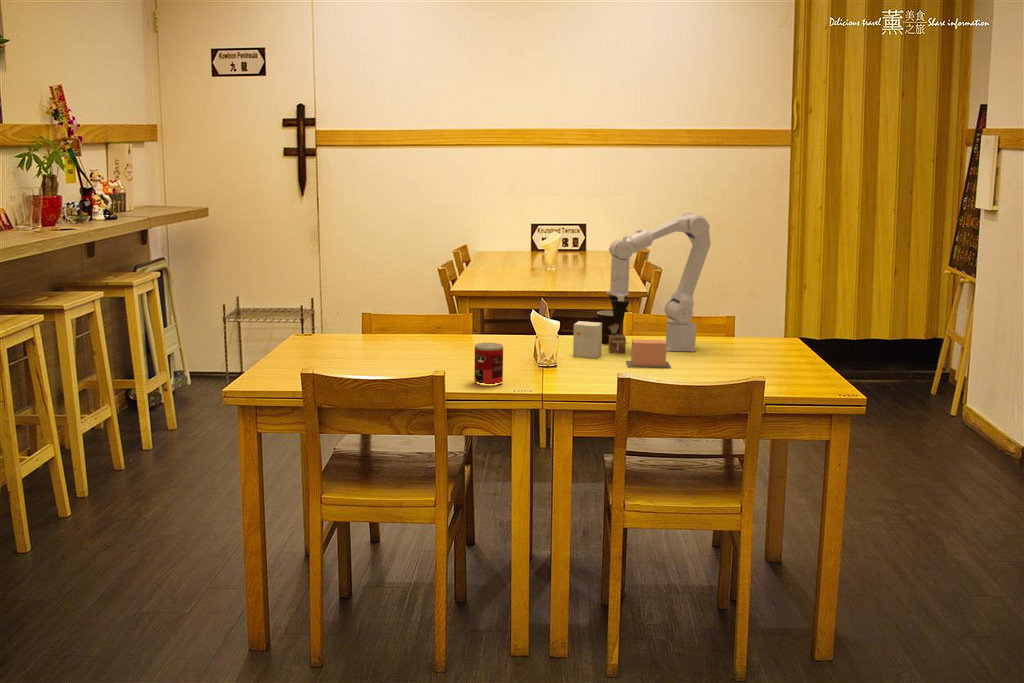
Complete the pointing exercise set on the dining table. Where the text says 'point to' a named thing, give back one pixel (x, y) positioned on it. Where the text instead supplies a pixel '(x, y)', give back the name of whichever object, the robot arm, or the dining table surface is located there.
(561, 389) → the dining table surface
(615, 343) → the letter cube
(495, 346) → the canned food
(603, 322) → the coffee mug
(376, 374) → the dining table surface
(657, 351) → the pink rectangular block
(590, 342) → the small box
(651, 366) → the mat
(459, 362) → the dining table surface
